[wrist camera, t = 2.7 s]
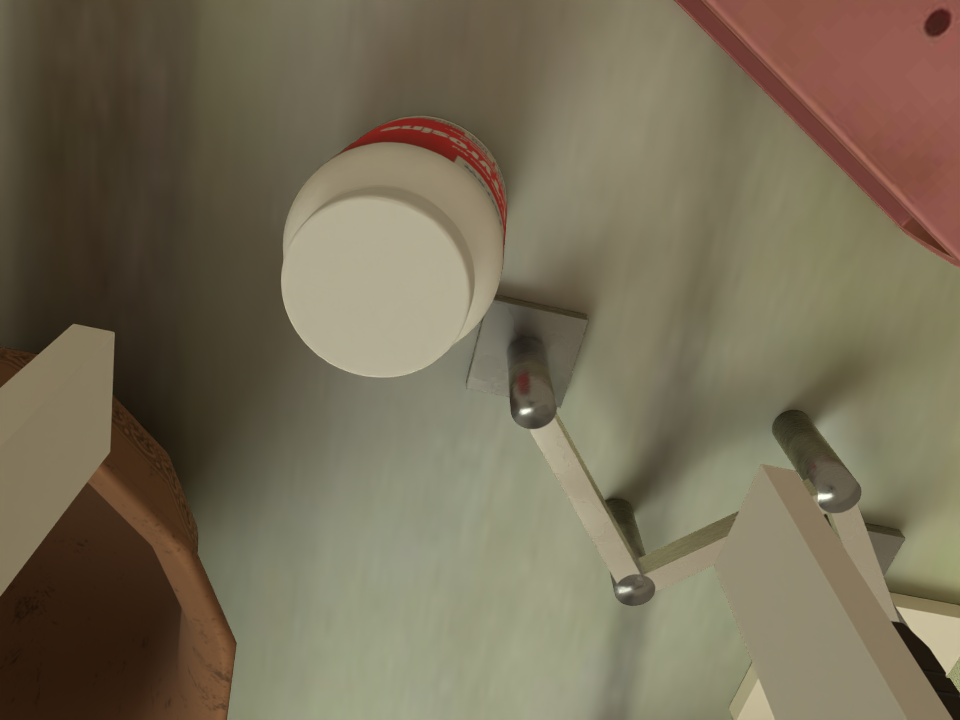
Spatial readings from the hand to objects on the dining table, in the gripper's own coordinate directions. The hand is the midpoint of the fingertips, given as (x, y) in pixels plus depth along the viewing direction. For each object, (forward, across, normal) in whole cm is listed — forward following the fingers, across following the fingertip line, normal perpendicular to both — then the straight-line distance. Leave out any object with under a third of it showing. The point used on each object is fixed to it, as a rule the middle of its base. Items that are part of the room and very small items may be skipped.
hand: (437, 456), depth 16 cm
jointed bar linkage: (+16, +12, -8) cm, 21 cm away
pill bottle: (+16, -1, +1) cm, 16 cm away
